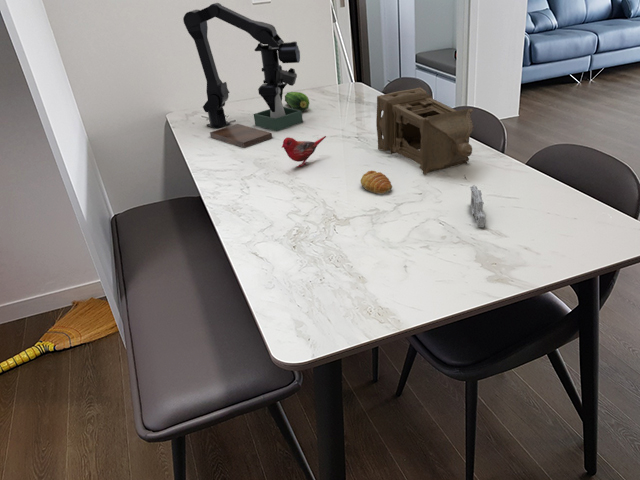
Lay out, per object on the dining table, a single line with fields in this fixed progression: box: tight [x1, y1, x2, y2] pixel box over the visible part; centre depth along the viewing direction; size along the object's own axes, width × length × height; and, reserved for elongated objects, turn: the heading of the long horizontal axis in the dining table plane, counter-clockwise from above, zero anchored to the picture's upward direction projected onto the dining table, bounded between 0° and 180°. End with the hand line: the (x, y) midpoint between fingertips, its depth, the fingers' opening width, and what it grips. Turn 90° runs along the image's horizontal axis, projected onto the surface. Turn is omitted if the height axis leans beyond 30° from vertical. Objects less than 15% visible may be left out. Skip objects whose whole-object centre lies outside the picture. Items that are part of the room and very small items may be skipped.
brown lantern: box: [375, 86, 474, 176], centre depth 152 cm, size 35×18×18 cm, turn 26°
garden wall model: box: [469, 184, 486, 228], centre depth 123 cm, size 12×2×6 cm, turn 178°
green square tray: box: [252, 106, 304, 132], centre depth 197 cm, size 13×13×4 cm
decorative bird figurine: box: [281, 135, 327, 168], centre depth 158 cm, size 3×18×10 cm, turn 137°
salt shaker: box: [270, 87, 286, 118], centre depth 195 cm, size 6×6×13 cm
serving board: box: [209, 123, 273, 149], centre depth 187 cm, size 20×12×2 cm, turn 46°
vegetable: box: [284, 91, 310, 112], centre depth 214 cm, size 7×7×20 cm
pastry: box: [360, 170, 393, 195], centre depth 141 cm, size 9×7×4 cm
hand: (276, 108), depth 195 cm, fingers open, 9 cm apart
